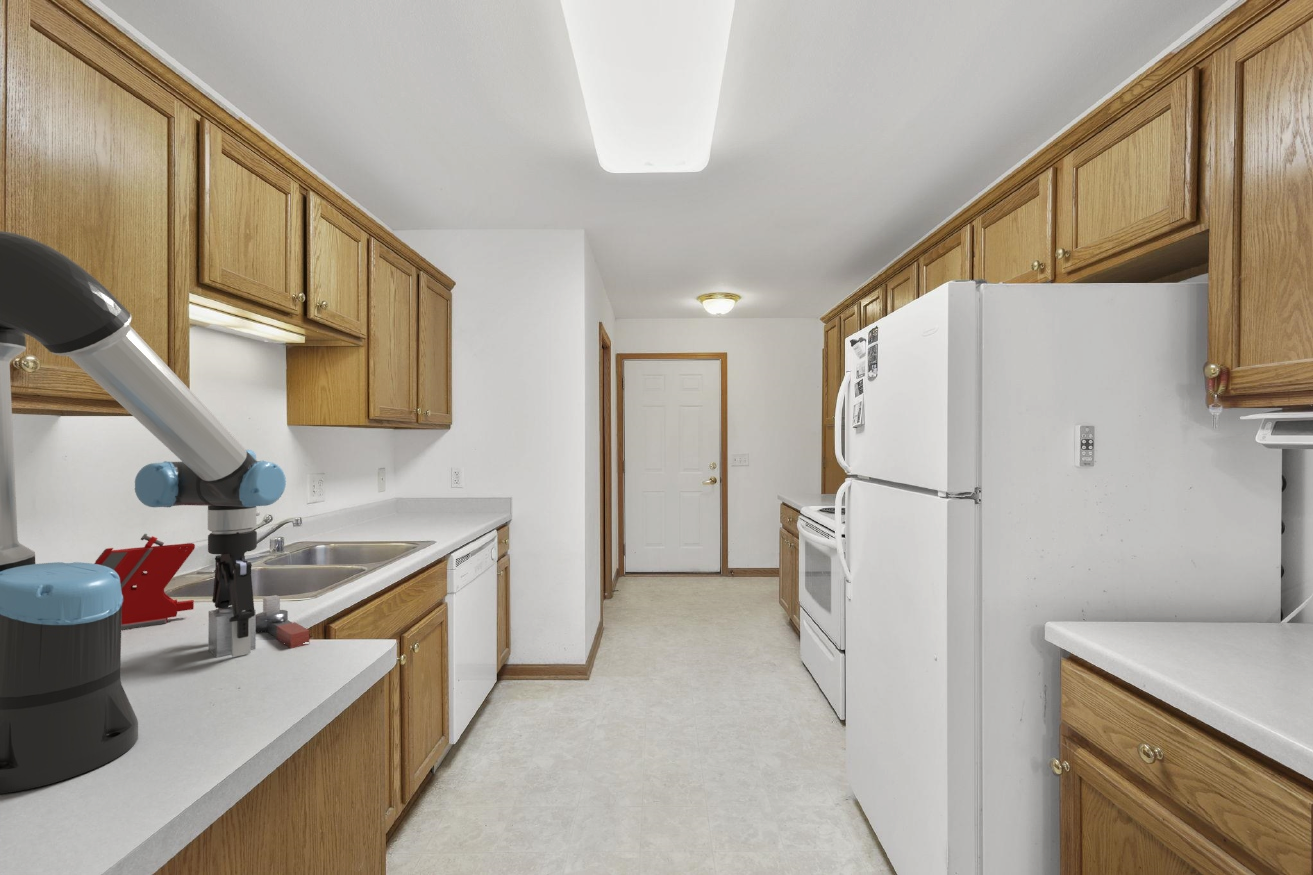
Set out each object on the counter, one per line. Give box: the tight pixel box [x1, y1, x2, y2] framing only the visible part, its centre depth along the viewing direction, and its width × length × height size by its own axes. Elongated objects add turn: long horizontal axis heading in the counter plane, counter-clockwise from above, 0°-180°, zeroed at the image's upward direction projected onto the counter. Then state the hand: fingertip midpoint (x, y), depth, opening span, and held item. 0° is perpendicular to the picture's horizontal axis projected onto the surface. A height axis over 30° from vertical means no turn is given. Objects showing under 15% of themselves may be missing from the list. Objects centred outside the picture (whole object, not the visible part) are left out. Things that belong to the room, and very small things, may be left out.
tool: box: [93, 533, 196, 631], centre depth 124 cm, size 24×5×25 cm, turn 131°
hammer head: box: [207, 605, 257, 658], centre depth 110 cm, size 6×6×8 cm
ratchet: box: [256, 594, 310, 649], centre depth 118 cm, size 6×20×6 cm, turn 49°
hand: (232, 647), depth 110 cm, fingers open, 10 cm apart
